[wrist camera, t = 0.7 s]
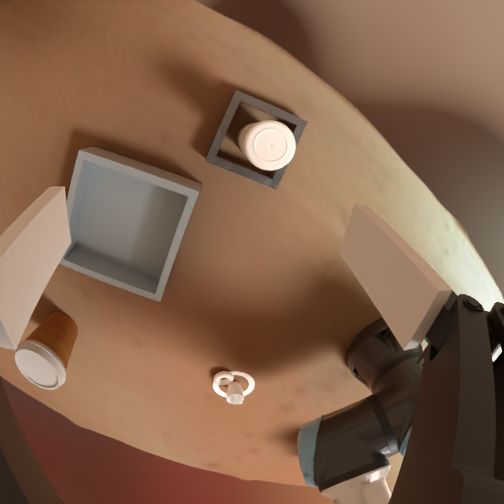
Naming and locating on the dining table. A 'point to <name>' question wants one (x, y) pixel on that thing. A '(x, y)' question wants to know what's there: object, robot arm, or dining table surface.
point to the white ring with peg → (232, 386)
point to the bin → (126, 220)
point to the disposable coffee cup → (47, 351)
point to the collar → (238, 98)
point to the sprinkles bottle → (267, 144)
